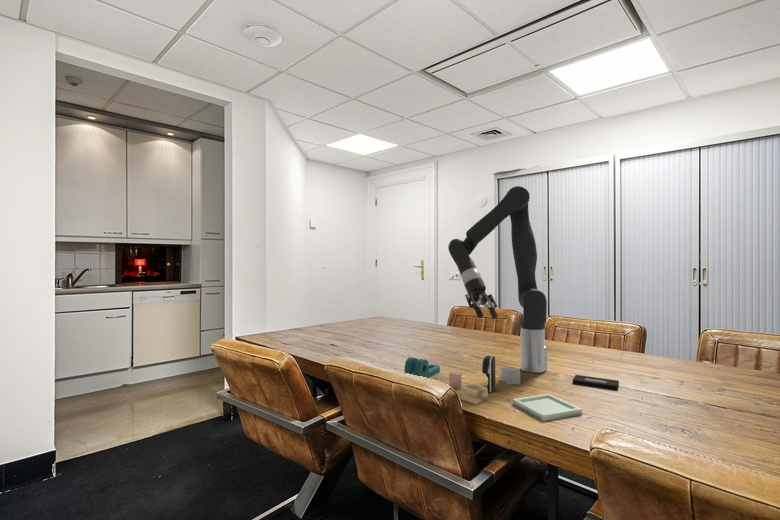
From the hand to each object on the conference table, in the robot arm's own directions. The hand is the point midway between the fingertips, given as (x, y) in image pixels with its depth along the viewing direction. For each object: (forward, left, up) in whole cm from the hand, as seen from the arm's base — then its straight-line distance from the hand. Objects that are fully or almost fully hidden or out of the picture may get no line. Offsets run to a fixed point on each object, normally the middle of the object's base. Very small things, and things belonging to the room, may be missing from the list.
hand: (488, 317), depth 155 cm
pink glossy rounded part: (+18, +6, -23) cm, 30 cm away
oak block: (+18, +19, -23) cm, 35 cm away
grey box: (-4, +8, -23) cm, 25 cm away
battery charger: (+8, +12, -23) cm, 27 cm away
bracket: (+22, -12, -24) cm, 34 cm away
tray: (+2, +34, -23) cm, 41 cm away
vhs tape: (-32, +20, -24) cm, 45 cm away
